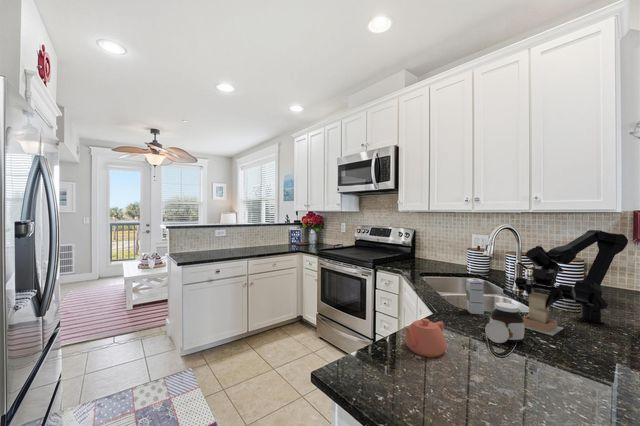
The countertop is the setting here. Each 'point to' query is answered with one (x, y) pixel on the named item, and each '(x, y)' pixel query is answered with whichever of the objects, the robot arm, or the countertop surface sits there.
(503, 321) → the spread jar
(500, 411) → the countertop surface
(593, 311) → the robot arm
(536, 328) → the pink rectangular tray
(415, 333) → the teapot
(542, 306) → the maple peg
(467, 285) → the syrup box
